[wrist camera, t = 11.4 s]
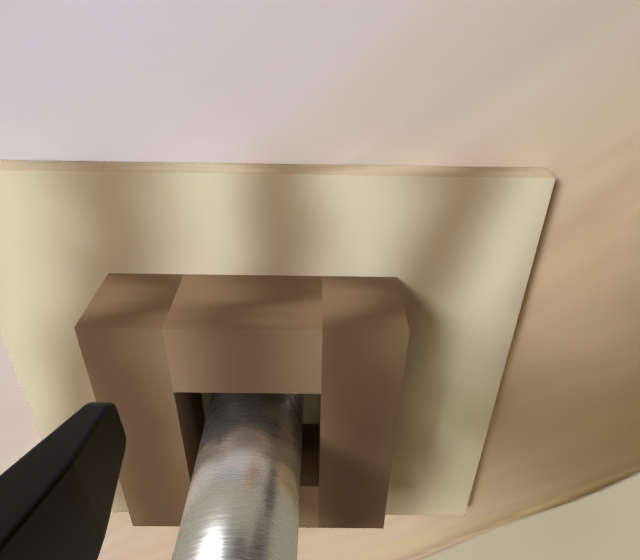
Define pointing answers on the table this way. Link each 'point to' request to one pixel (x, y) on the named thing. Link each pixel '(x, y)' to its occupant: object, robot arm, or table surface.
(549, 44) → the table surface
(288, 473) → the peg
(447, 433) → the socket holder
